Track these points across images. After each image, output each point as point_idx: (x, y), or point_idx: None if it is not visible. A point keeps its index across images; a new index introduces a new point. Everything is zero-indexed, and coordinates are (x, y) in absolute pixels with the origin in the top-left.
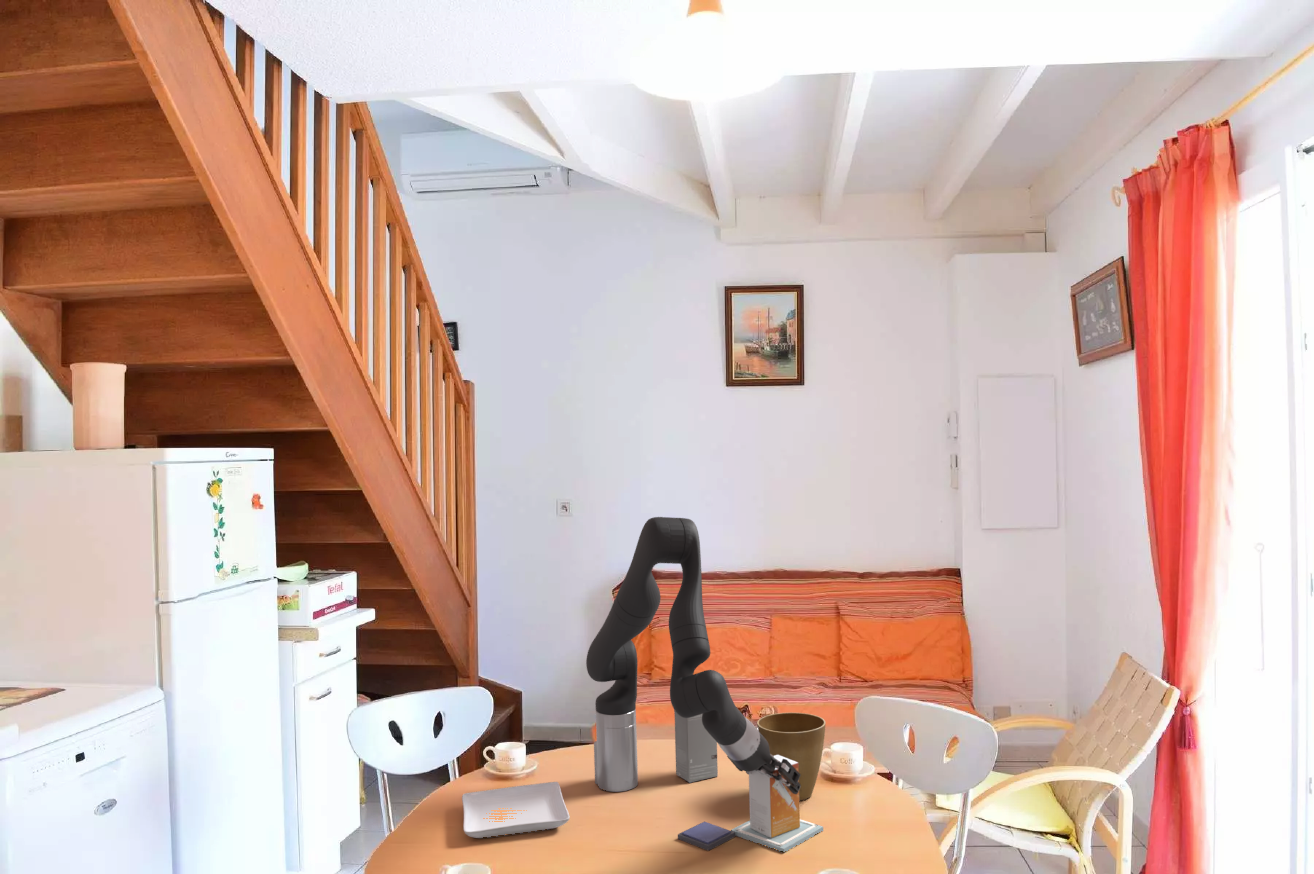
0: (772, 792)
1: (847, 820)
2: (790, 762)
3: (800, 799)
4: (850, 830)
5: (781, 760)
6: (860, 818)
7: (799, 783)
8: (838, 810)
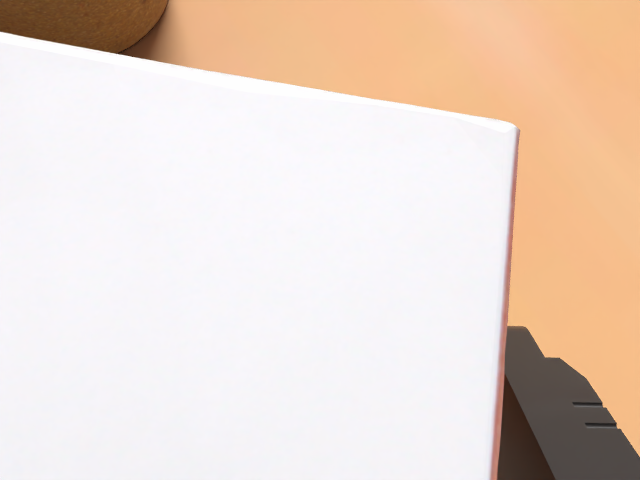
0: None
1: (472, 87)
2: (412, 214)
3: (147, 30)
4: (562, 171)
5: (206, 242)
6: (503, 37)
7: (531, 337)
8: (367, 23)
